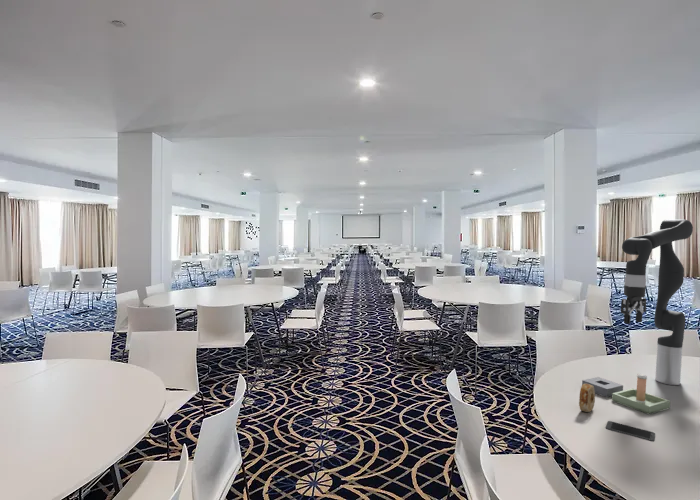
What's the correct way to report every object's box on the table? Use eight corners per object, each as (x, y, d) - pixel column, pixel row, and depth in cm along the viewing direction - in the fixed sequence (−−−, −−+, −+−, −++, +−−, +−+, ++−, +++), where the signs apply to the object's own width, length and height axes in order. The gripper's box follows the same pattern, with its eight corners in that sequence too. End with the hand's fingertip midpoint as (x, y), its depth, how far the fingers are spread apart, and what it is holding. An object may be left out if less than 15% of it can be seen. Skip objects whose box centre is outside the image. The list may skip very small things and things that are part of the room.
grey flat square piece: (597, 384, 188) (598, 376, 188) (622, 393, 178) (623, 385, 178) (581, 388, 183) (582, 380, 183) (606, 397, 174) (607, 389, 173)
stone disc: (587, 416, 155) (588, 389, 155) (576, 412, 158) (578, 386, 157) (596, 408, 162) (597, 383, 162) (585, 405, 165) (587, 380, 164)
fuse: (638, 400, 169) (640, 373, 169) (647, 403, 166) (648, 376, 166) (633, 401, 168) (635, 374, 167) (642, 404, 165) (644, 377, 164)
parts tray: (632, 395, 176) (632, 388, 176) (669, 408, 164) (670, 400, 164) (611, 400, 170) (612, 393, 170) (649, 414, 158) (649, 406, 158)
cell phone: (607, 422, 151) (608, 420, 151) (655, 434, 142) (655, 432, 142) (604, 429, 145) (605, 427, 145) (654, 443, 137) (654, 440, 137)
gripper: (635, 283, 185) (633, 319, 186) (615, 284, 179) (613, 322, 179) (654, 285, 178) (651, 323, 179) (634, 286, 172) (632, 325, 173)
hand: (632, 322), depth 179 cm, fingers open, 8 cm apart
